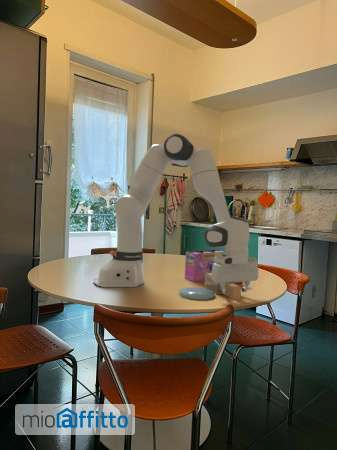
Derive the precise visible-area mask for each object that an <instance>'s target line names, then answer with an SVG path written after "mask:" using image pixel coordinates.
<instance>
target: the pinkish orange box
mask: <svg viewBox="0 0 337 450" xmlns="http://www.w3.org/2000/svg"><path fill="white" fill-rule="evenodd" d="M224 286H225V288H226V289H228V291H227V292H228V293H227V294H223V293H222V294H221V295H224V296H227V297H228V298H230V299H231V298H232V300H233V299H237V300H241V297H242V296H241V293H242V286H237V285H235V284H233V283H231V282H228V283H226V285H224Z"/></svg>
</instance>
